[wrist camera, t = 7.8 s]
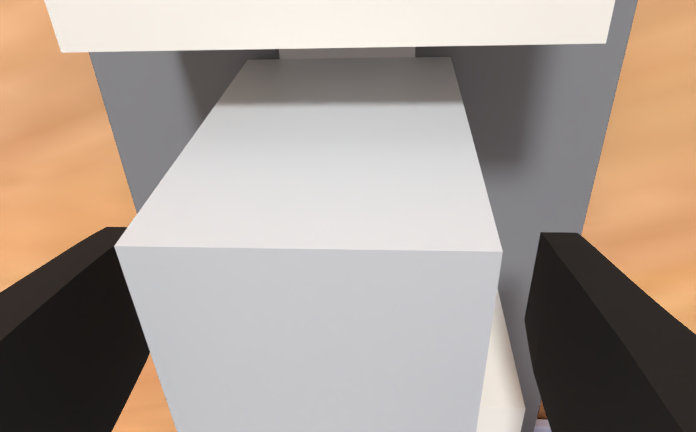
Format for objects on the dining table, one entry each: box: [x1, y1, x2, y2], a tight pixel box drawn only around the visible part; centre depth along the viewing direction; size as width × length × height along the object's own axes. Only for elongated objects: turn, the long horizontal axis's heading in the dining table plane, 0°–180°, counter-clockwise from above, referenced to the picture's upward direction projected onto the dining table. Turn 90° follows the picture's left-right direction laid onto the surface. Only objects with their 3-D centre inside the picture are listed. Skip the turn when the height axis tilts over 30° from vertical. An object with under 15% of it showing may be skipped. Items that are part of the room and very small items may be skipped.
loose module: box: [114, 57, 503, 432], centre depth 11 cm, size 5×4×7 cm
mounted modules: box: [44, 0, 615, 432], centre depth 12 cm, size 16×8×4 cm, turn 2°
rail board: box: [89, 0, 638, 432], centre depth 14 cm, size 26×12×1 cm, turn 2°
